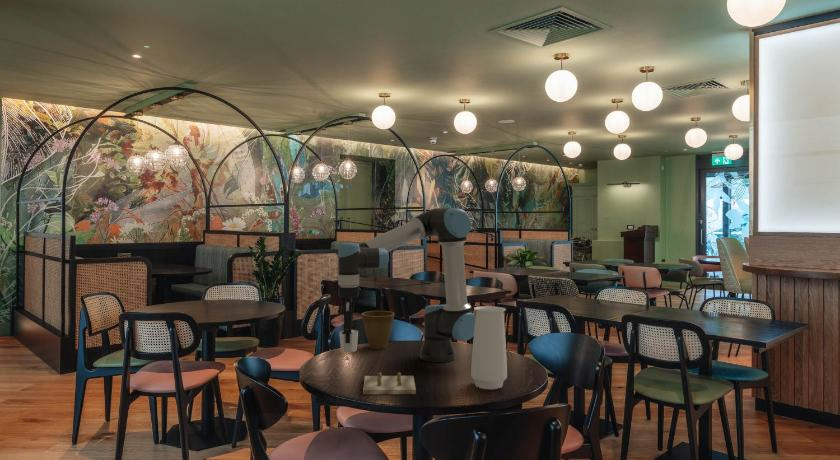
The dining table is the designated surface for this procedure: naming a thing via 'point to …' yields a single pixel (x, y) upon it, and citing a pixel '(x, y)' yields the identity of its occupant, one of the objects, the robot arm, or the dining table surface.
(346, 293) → the robot arm
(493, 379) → the vase
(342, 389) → the dining table surface
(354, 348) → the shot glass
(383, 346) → the plant pot
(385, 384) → the pin board
